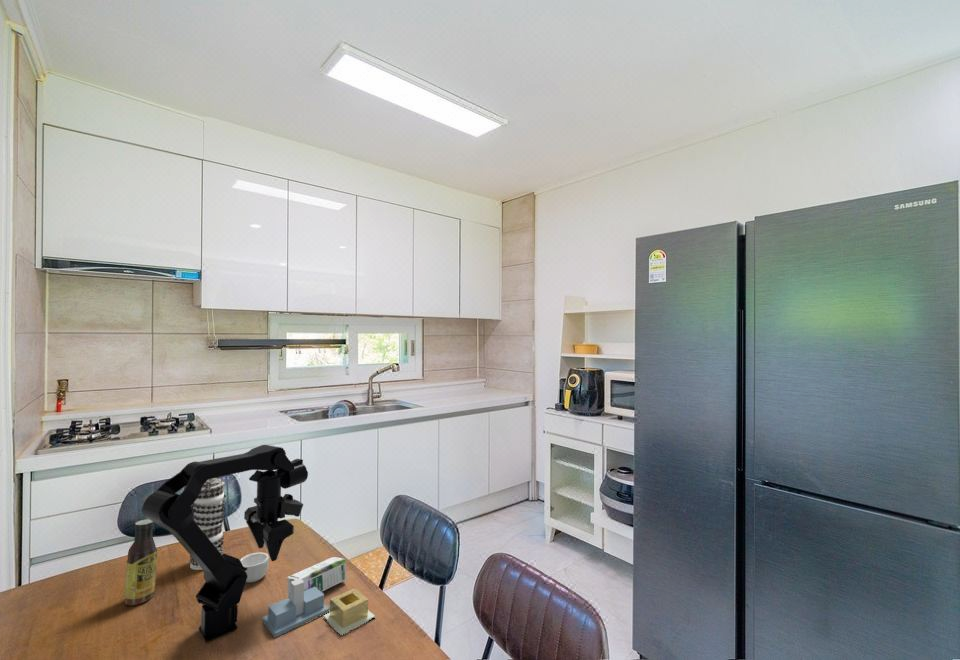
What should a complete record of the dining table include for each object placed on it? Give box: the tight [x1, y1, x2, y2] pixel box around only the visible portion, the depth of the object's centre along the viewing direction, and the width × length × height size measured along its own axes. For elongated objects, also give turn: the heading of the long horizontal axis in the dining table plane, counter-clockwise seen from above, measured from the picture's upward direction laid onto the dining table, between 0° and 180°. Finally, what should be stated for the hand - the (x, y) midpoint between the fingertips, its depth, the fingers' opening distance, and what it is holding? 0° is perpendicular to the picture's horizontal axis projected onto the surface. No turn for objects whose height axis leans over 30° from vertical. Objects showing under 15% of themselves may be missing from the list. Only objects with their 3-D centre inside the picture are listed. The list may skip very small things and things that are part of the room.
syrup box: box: [286, 556, 347, 600], centre depth 116 cm, size 6×6×14 cm
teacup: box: [239, 551, 270, 584], centre depth 122 cm, size 10×8×5 cm
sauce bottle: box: [123, 518, 158, 606], centre depth 111 cm, size 6×6×20 cm
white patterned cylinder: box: [189, 477, 227, 571], centre depth 129 cm, size 9×9×25 cm
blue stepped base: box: [262, 578, 330, 638], centre depth 105 cm, size 13×8×8 cm, turn 136°
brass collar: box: [329, 587, 369, 628], centre depth 105 cm, size 7×7×4 cm
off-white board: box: [322, 609, 376, 636], centre depth 105 cm, size 9×9×1 cm
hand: (267, 554), depth 111 cm, fingers open, 9 cm apart
